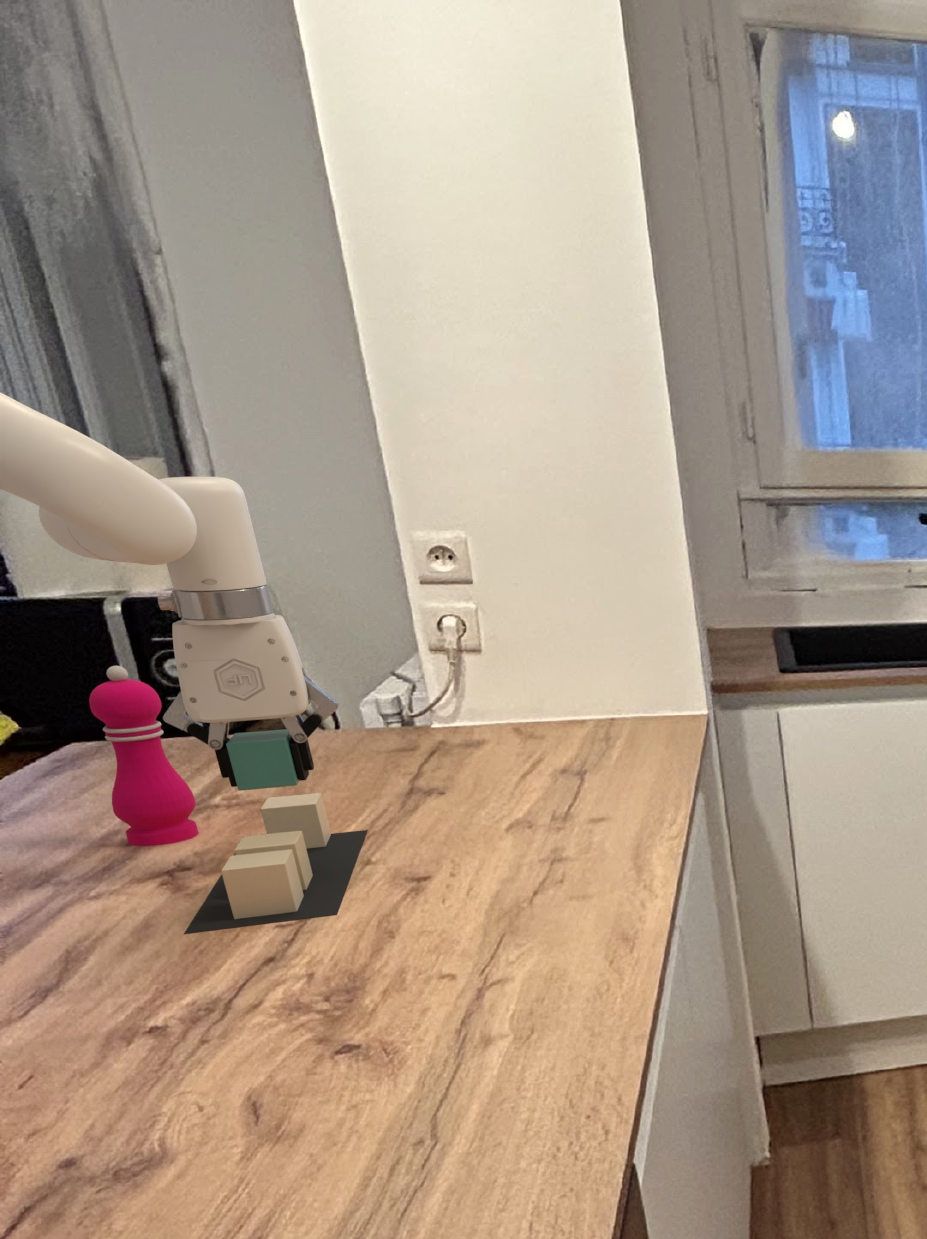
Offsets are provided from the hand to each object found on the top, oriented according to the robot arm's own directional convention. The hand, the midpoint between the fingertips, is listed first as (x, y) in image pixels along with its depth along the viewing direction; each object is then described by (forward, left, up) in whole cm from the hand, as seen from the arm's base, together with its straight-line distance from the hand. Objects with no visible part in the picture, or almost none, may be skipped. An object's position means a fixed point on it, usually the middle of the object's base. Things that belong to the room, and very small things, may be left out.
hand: (270, 778), depth 142 cm
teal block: (0, 0, 0) cm, 0 cm away
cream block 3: (0, -15, -10) cm, 17 cm away
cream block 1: (0, +8, -10) cm, 13 cm away
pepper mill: (-14, +17, -10) cm, 25 cm away
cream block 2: (0, -8, -10) cm, 12 cm away
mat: (0, -4, -10) cm, 11 cm away
